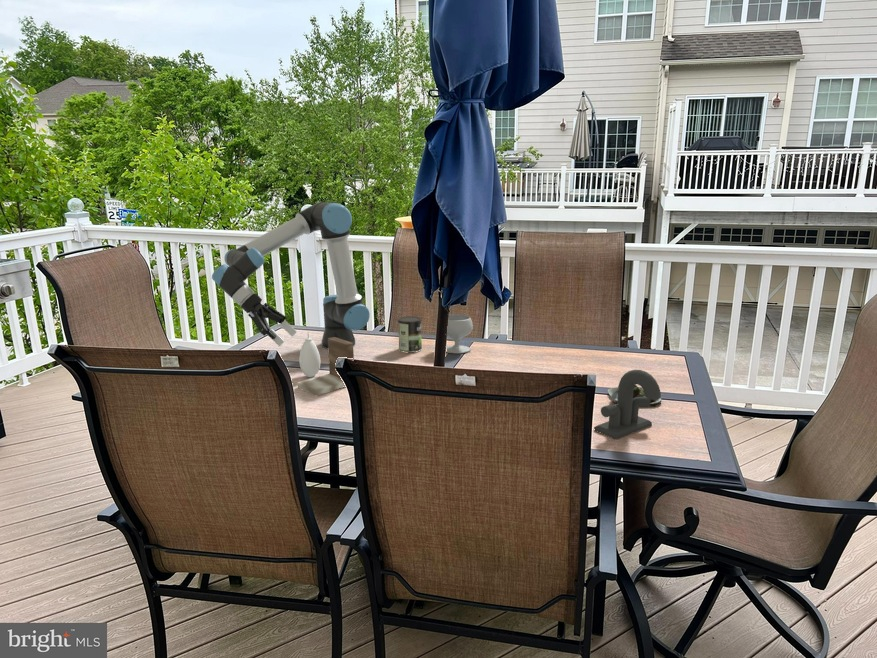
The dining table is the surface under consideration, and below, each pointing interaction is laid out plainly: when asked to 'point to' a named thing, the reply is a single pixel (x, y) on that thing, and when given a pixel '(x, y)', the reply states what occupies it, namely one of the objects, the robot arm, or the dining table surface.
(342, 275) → the robot arm
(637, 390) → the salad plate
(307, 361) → the sauce bottle
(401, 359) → the dining table surface
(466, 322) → the chalice
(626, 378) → the faucet
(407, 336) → the coffee can
